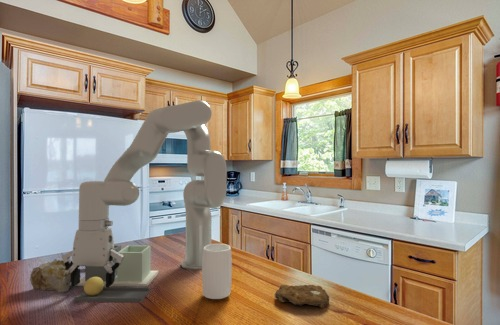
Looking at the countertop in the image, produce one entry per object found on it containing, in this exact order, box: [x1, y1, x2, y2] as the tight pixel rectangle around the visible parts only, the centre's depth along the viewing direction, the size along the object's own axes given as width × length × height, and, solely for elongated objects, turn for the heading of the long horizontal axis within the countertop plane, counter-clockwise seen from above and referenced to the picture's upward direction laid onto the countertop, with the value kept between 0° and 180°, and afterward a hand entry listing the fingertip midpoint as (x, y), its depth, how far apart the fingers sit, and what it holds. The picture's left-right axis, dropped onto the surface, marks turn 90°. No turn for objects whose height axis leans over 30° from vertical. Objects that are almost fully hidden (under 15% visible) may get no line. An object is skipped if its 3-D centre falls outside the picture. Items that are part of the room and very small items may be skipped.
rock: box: [29, 258, 72, 293], centre depth 89 cm, size 12×7×10 cm, turn 74°
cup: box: [201, 243, 233, 300], centre depth 84 cm, size 8×8×14 cm
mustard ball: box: [83, 277, 105, 296], centre depth 84 cm, size 5×5×5 cm
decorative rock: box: [274, 284, 330, 309], centre depth 82 cm, size 11×4×15 cm
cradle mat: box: [70, 286, 152, 303], centre depth 84 cm, size 19×8×1 cm, turn 90°
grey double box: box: [75, 244, 159, 287], centre depth 95 cm, size 22×11×10 cm, turn 90°
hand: (92, 285), depth 83 cm, fingers open, 9 cm apart
